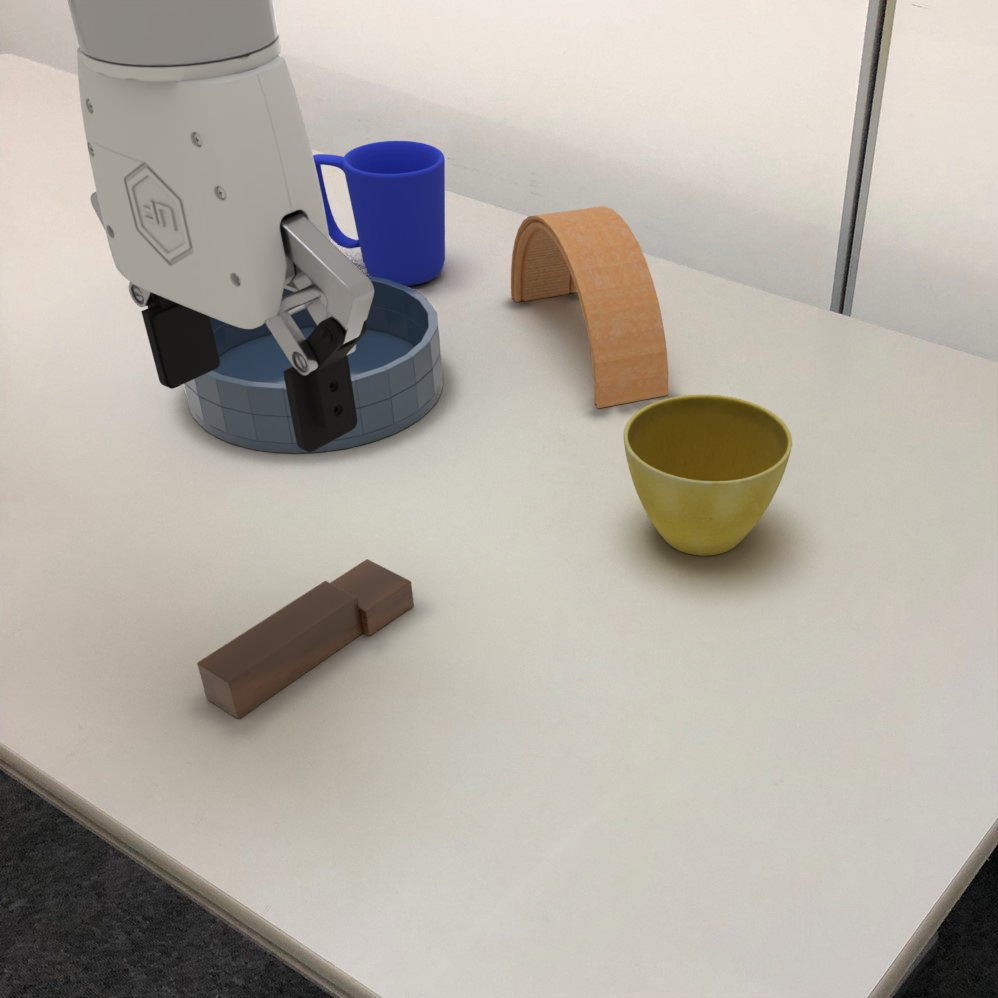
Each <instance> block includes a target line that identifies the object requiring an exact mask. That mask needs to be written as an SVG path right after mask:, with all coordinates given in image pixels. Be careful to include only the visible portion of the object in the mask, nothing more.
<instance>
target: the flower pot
mask: <svg viewBox="0 0 998 998" xmlns="http://www.w3.org/2000/svg"><path fill="white" fill-rule="evenodd" d="M623 444H624V452H625V456H626V461H627V466H628V469H629V474H630V477H631V480H632V484H633V486H634V489H635V491H636V494H637V497H638V499H639V501H640V503H641V506H642V507H643V509H644V511H645V513H646V515H647V517H648V519H649V520H650V522H651V523H652V525H653V526H654V528H655V529H656V530H657V532H658V534H659V535H660V536H661V537H662V539H663V540H664V541H665V542H666V543H667V544H668V545H669V546H671V547H672V548H673V549H675V550H677V551H679V552H681V553H684V554H688V555H693V556H699V557H700V556H702V557H704V556H705V557H707V556H716V555H721V554H724V553H726V552H729V551H730V550H732V549H735V547H737V546H738V545H739V544H740V543H741V542H742V541H743V540H744V539H745V538H746V536H748V534H749V533H750V532H752V530H753V529H754V528H755V526H756V525H757V524H758V522H759V521H760V520H761V518H762V517H763V515H764V514H765V512H766V511H767V509H768V507H770V504H771V502H772V500H773V499H774V497H775V494H776V492H777V491H778V489H779V487H780V484H781V483H782V479H783V477H784V474H785V472H786V469H787V465H788V462H789V458H790V455H791V451H792V447H793V438H792V433H791V432H790V429H789V427H788V426H787V424H786V423H785V422H784V421H783V420H782V418H780V417H779V416H777V415H776V414H775V413H774V412H772V411H771V410H769V409H767V408H766V407H763V406H761V405H759V404H756V403H753V402H751V401H748V400H745V399H742V398H737V397H733V396H726V395H721V394H720V395H719V394H684V395H679V396H672V397H668V398H663V399H660V400H658V401H655V402H652V403H649V404H648V405H646V406H644V407H643V408H641V409H639V410H638V411H636V412H635V413H634V414H633V415H632V416H631V417H630V418H629V419H628V421H627V422H626V424H625V426H624V429H623Z"/></svg>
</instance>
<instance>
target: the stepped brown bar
mask: <svg viewBox="0 0 998 998" xmlns="http://www.w3.org/2000/svg"><path fill="white" fill-rule="evenodd" d="M414 602H415V601H414V594H413V586H412V581H411V580H409V579H407V578H406V577H404V576H402V575H399V574H397V573H395V572H394V571H392V570H389V569H388V568H386V567H384V566H382V565H381V564H378V563H377V562H374V561H372V560H371V559H365V560H363V561H361V562H360V563H358V564H357V565H355V566H354V567H352V568H351V569H349V570H348V571H346V572H345V573H343V574H341V575H340V576H338V577H337V578H335V579H333V580H332V581H331V582H329V581H328V580H324V581H323V582H321V583H319V584H318V585H316V586H314V587H313V588H311V589H310V590H308V591H307V592H305V593H304V594H302V595H301V596H299V597H297V598H296V599H294V600H293V601H291V602H290V603H288V604H287V605H285V606H283V607H282V608H280V609H278V610H277V611H276V612H274V613H272V614H271V615H269V616H268V617H266V618H264V619H263V620H261V621H260V622H258V623H257V624H255V625H254V626H252V627H251V628H248V629H247V630H246V631H244V632H243V633H241V634H240V635H238V636H237V637H235V638H233V639H232V640H229V642H227V643H226V644H224V645H222V646H221V647H219V648H218V649H216V650H215V651H213V652H212V653H210V654H209V655H207V656H205V657H204V658H201V660H199V661H197V663H196V665H197V669H198V673H199V676H200V680H201V683H202V687H203V691H204V694H205V698H206V700H207V701H209V702H210V703H212V704H214V705H216V706H217V707H218V708H220V709H222V710H223V711H225V712H227V714H229V715H231V716H233V717H234V718H236V719H239V720H240V719H241V718H242V717H244V716H245V715H247V714H248V713H249V712H251V711H252V710H254V709H255V708H257V707H258V706H259V705H261V704H262V703H264V702H266V701H267V700H268V699H270V698H271V697H272V696H274V695H275V694H277V693H278V692H280V691H281V690H283V689H284V688H286V687H287V686H289V685H290V684H291V683H293V682H294V681H296V680H297V679H299V678H300V677H302V676H303V675H305V674H306V673H307V672H309V671H310V670H312V669H313V668H315V667H316V666H317V665H319V664H320V663H322V662H323V661H324V660H326V659H328V658H329V657H331V656H332V655H333V654H336V652H338V651H339V650H340V649H342V648H344V647H345V646H346V645H348V644H349V643H351V642H353V640H355V639H357V638H358V637H359V636H361V635H362V634H365V635H367V636H369V637H371V636H372V635H374V634H375V633H376V632H378V631H379V630H381V629H382V628H384V627H385V626H387V625H388V624H390V623H391V622H392V621H394V620H396V619H397V618H398V617H400V616H401V615H402V614H404V613H405V612H407V611H408V610H409V609H412V607H414V605H415V603H414Z"/></svg>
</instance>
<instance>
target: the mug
mask: <svg viewBox="0 0 998 998" xmlns="http://www.w3.org/2000/svg"><path fill="white" fill-rule="evenodd" d="M313 158H314V162H315V166H316V171H317V175H318V179H319V184H320V189H321V194H322V199H323V203H324V209H325V215H326V220H327V226H328V232H329V238H330V240H332V241H333V243H335V244H337V245H338V246H340V247H342V248H344V249H357V248H360V253H361V258H362V262H363V266H364V268H365V271H366V272H367V273H368V275H369V276H373V277H378V278H384V279H387V280H391V281H394V282H396V283H399V284H402V285H405V286H407V287H410V286H415V285H416V286H417V285H420V284H424V283H427V282H430V281H431V280H434V279H435V278H436V277H438V276H439V275H440V273H441V272H442V270H443V268H444V265H445V261H446V169H445V167H446V162H445V161H446V159H445V154H444V153H443V152H442V150H441V149H439V148H437V147H436V146H433V145H431V144H427V143H424V142H418V141H411V140H383V141H376V142H372V143H370V142H369V143H366V144H364V145H360V146H357V147H355V148H353V149H351V150H349V151H347V152H346V153H345V155H344V156H342V155H337V154H328V153H318V154H317V153H316V154H313ZM322 166H331V167H335V168H338V169H340V170H341V171H342V172H343V174H344V176H345V181H346V186H347V190H348V191H347V192H348V196H349V200H350V205H351V210H352V214H353V219H354V220H353V221H354V225H355V229H356V235H357V238H358V239H355V238H351V237H349V236H347V235H345V234H344V232H343V231H341V229H340V228H339V226H338V224H337V221H336V219H335V217H334V215H333V212H332V209H331V205H330V202H329V198H328V194H327V190H326V189H327V188H326V186H325V181H324V176H323V171H322Z"/></svg>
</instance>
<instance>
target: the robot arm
mask: <svg viewBox="0 0 998 998" xmlns="http://www.w3.org/2000/svg"><path fill="white" fill-rule="evenodd" d="M67 4H68V5H67V6H68V8H69V12H70V16H71V19H72V24H73V27H74V28H73V29H74V31H75V35H76V39H77V44H78V48H77V49H76V53H77V54H76V55H77V57H76V59H77V78H78V79H77V80H78V90H79V100H80V101H79V102H80V108H81V114H82V115H81V116H82V121H83V128H84V135H85V140H86V141H85V142H86V147H87V152H88V156H89V157H88V158H89V162H90V168H91V172H92V176H93V182H94V186H95V190H96V191H94V192H92V193H91V195H90V204H91V206H92V208H93V210H94V212H95V214H96V216H97V217H98V219H99V221H100V223H101V225H102V227H103V229H104V231H105V235H106V239H107V242H108V243H107V244H108V247H109V250H110V253H111V257H112V260H113V262H114V266H115V268H116V269H117V271H118V272H119V273H120V274H121V276H122V277H124V278H125V280H127V281H129V284H128V292H129V295H130V297H131V299H132V301H133V302H134V303H135V304H136V305H137V306H138V307H139V308H145V307H147V308H145V309H143V310H140V312H141V316H142V319H143V323H144V327H145V331H146V336H147V338H148V343H149V346H150V351H151V355H152V357H153V361H154V364H155V369H156V374H157V377H158V380H159V383H160V384H161V385H162V386H164V387H166V388H169V389H172V390H173V389H176V388H178V387H180V386H183V384H184V383H187V382H189V381H191V380H193V379H195V378H197V377H200V376H202V375H204V374H206V373H208V372H210V371H212V370H215V369H216V368H218V367H219V365H220V360H219V355H218V351H217V346H216V342H215V338H214V333H213V329H212V324H211V320H210V317H212V318H215V319H217V320H220V321H222V322H225V323H227V324H230V325H233V326H236V327H239V328H243V329H254V328H257V327H259V326H261V325H263V324H264V323H265V324H266V325H267V327H268V328H269V330H270V331H271V333H272V334H273V336H274V338H275V339H276V341H277V342H278V344H279V345H280V347H281V348H282V350H283V352H284V353H285V355H286V356H287V358H288V359H289V361H290V362H291V364H292V366H293V367H291V368H289V369H287V370H285V371H283V373H284V380H285V385H286V391H287V396H288V401H289V406H290V412H291V417H292V422H293V427H294V433H295V438H296V442H297V445H298V447H299V448H300V449H303V450H305V451H307V452H313V451H315V450H317V449H319V448H320V447H322V446H324V445H326V444H328V443H330V442H331V441H333V440H335V439H337V438H339V437H340V436H342V435H344V434H346V433H348V432H350V431H351V430H353V429H354V428H355V427H356V425H357V414H356V407H355V401H354V394H353V388H352V381H351V375H350V368H349V361H348V354H350V353H352V352H354V351H355V350H356V343H357V342H358V341H359V340H360V339H361V337H362V336H363V335H364V334H365V333H366V331H367V324H366V321H365V320H367V317H368V313H369V310H370V307H371V303H372V300H373V296H374V287H373V284H372V282H371V281H370V279H369V278H368V277H367V276H366V275H367V274H365V273H364V272H363V271H362V270H361V269H360V268H359V267H358V266H357V265H356V264H354V262H353V261H352V260H351V259H349V257H347V256H346V255H345V254H344V253H343V252H342V250H340V249H339V248H338V247H337V246H336V245H335V244H334V242H332V241H331V238H330V236H329V232H328V226H327V220H326V215H325V209H324V203H323V199H322V194H321V189H320V184H319V179H318V175H317V171H316V166H315V162H314V158H313V155H314V154H313V149H312V146H311V143H310V138H309V134H308V130H307V127H306V123H305V120H304V119H305V118H304V117H303V113H302V110H301V106H300V102H299V98H298V96H297V92H296V89H295V85H294V83H293V80H292V77H291V74H290V71H289V67H288V65H287V62H286V59H285V58H284V57H282V56H280V54H281V50H282V47H281V41H280V40H281V39H280V34H279V28H278V22H277V15H276V10H275V3H274V0H67ZM284 288H285V289H287V290H290V291H293V292H294V293H292V294H289V295H287V296H285V297H283V298H282V295H283V290H284ZM305 308H306V309H307V310H308V312H309V313H310V315H311V316H312V318H313V320H314V321H315V323H316V324H317V327H316V328H315V329H314V330H313V332H312V333H311V334H310V335H309V337H308V338H307V339H305V337H304V336H303V334H302V332H301V331H300V329H299V328H298V326H297V325H296V323H295V321H294V320H293V318H292V317H291V315H292V314H294V313H297V312H299V311H301V310H303V309H305Z"/></svg>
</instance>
